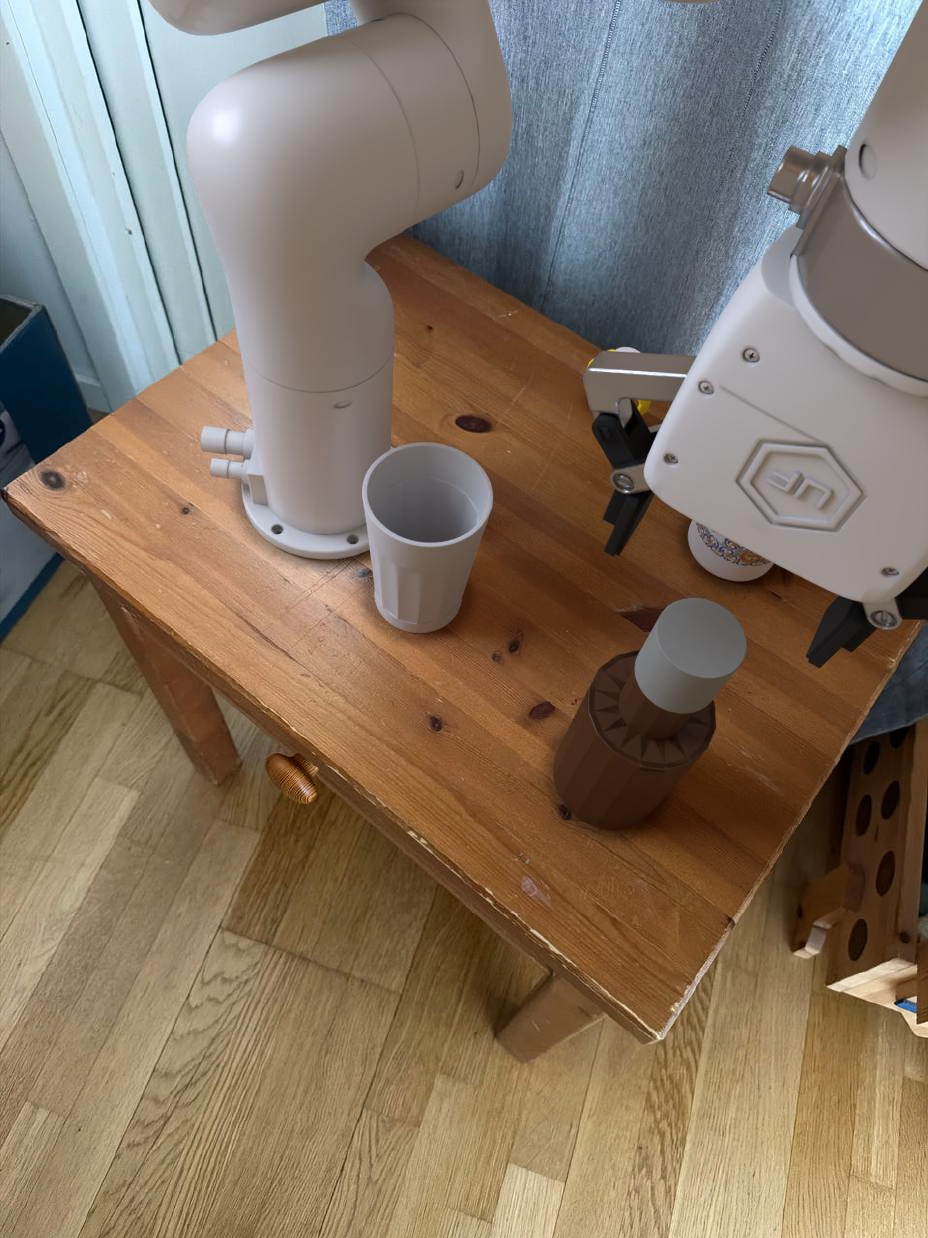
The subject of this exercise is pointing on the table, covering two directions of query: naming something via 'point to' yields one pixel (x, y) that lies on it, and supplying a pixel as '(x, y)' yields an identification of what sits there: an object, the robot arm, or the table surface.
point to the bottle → (625, 749)
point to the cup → (424, 531)
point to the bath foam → (725, 555)
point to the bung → (690, 655)
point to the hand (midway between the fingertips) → (720, 585)
